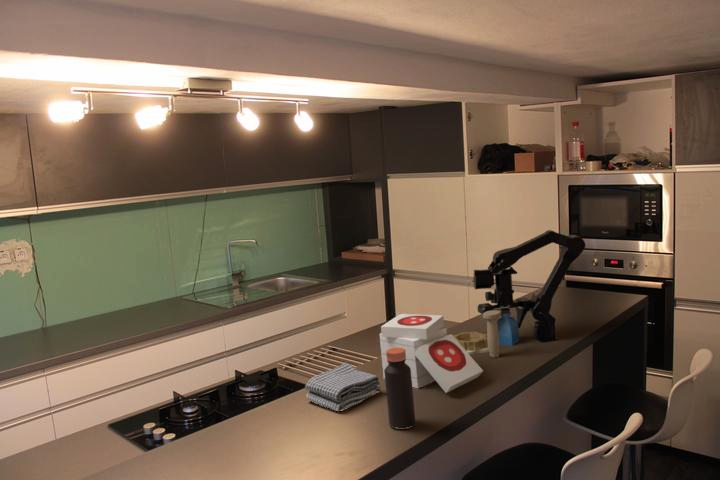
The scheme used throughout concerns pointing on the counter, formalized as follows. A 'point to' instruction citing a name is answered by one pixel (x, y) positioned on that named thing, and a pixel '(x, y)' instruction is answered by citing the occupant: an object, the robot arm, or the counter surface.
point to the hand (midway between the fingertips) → (506, 329)
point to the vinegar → (399, 389)
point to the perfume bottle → (507, 328)
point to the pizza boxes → (428, 351)
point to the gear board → (473, 342)
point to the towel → (341, 387)
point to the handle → (492, 332)
